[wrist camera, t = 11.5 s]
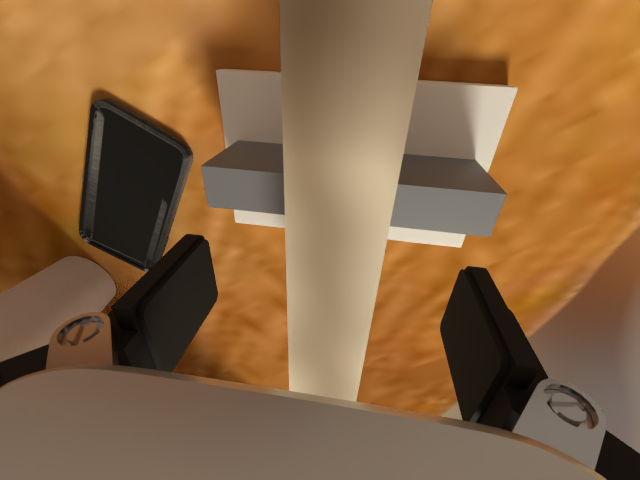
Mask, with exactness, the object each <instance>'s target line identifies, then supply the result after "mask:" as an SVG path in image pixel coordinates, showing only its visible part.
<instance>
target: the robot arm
mask: <svg viewBox="0 0 640 480" xmlns="http://www.w3.org/2000/svg"><path fill="white" fill-rule="evenodd" d="M217 297H218V292H217V286H216V280H215V275H214V269H213V264H212V258H211V253H210V247H209V243H208V241H207V240H205V239H204V237H203V236H202V235H193V234H186V235H185V236H184V237H183V238H182V239H181V240H180V241H179V242H177V243H176V244H175V245H174V246H173V247H172V248H171V249H170V250H169V251H168V252H167V253H166V254H165V255H164V256H163V257H162V258H161V259H160V260H159V261H158V262H157V263H156V264H155V265H154V266H153V267H152V268H151V269H150V270H149V271H148V272H147V273H146V274H145V275H144V276H143V277H142V278H141V279H139V280H138V281H137V282H136V283H135V284H134V285H133V286H132V287H131V288H130V289H129V290H128V291H127V292H126V293H125V294H124V295H123V296H122V297H121V298H120V299H119V300H118V301H117V302H116V303H115V304H114V305H113V306H112V307H111V308H112V311H111V312H110V313H109V314H108V315H106V314H105V313H100V312H90V313H85V314H81V315H78V316H76V317H73V318H71V319H70V320H68V321H66V322H64V323H63V324H62V325H60V326H59V327H58V328H57V329H56V330H55V331H54V333H53V334H52V336H51V338H50V342H49V344H48V345H45V346H42V347H39V348H37V349H34V350H31V351H29V352H26V353H23V354H20V355H18V356H15V357H12V358H10V359H7V360H4V361H1V362H0V480H640V454H639V453H638V452H636V451H635V450H634V449H632V448H631V447H629V446H628V445H626V444H625V443H624V442H622V441H621V440H619V439H618V438H616V437H615V436H614V435H612V434H611V433H609V432H608V431H607V430H606V419H605V417H604V414H603V412H602V410H601V409H600V408H599V406H598V405H597V404H596V403H595V402H594V401H593V400H592V399H591V398H590V397H589V396H588V395H587V394H586V393H584V392H583V391H582V390H580V389H579V388H577V387H575V386H573V385H571V384H570V383H567V382H565V381H561V380H558V379H549V378H548V376H547V374H546V372H545V371H544V369H543V367H542V365H541V363H540V361H539V360H538V358H537V356H536V354H535V352H534V351H533V349H532V347H531V345H530V343H529V342H528V340H527V338H526V336H525V334H524V332H523V331H522V329H521V327H520V325H519V323H518V322H517V320H516V318H515V316H514V314H513V313H512V312H511V310H509V309H508V307H507V306H506V304H505V302H504V300H503V298H502V296H501V295H500V293H499V291H498V289H497V287H496V285H495V283H494V282H493V280H492V278H491V276H490V274H489V272H488V271H487V269H486V268H480V267H471V266H468V267H466V269H465V270H460V272H459V274H458V277H457V280H456V283H455V285H454V288H453V291H452V294H451V296H450V299H449V302H448V305H447V308H446V310H445V313H444V316H443V319H442V321H441V326H440V332H441V336H442V340H443V344H444V348H445V352H446V356H447V360H448V364H449V368H450V372H451V376H452V380H453V384H454V388H455V392H456V396H457V400H458V404H459V407H460V411H461V415H462V419H463V420H457V419H452V418H446V417H441V416H436V415H430V414H425V413H420V412H414V411H408V410H402V409H396V408H390V407H384V406H378V405H372V404H366V403H360V402H354V401H348V400H342V399H336V398H330V397H324V396H318V395H312V394H306V393H300V392H294V391H288V390H281V389H275V388H269V387H263V386H257V385H251V384H244V383H238V382H232V381H225V380H219V379H212V378H206V377H200V376H193V375H187V374H181V373H174V372H172V371H173V370H174V368H175V366H176V365H177V363H178V362H179V360H180V358H181V357H182V355H183V354H184V352H185V350H186V349H187V347H188V346H189V344H190V342H191V341H192V339H193V338H194V336H195V334H196V333H197V331H198V330H199V328H200V326H201V325H202V323H203V322H204V320H205V318H206V317H207V315H208V314H209V312H210V310H211V309H212V307H213V306H214V304H215V302H216V300H217Z"/></svg>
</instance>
